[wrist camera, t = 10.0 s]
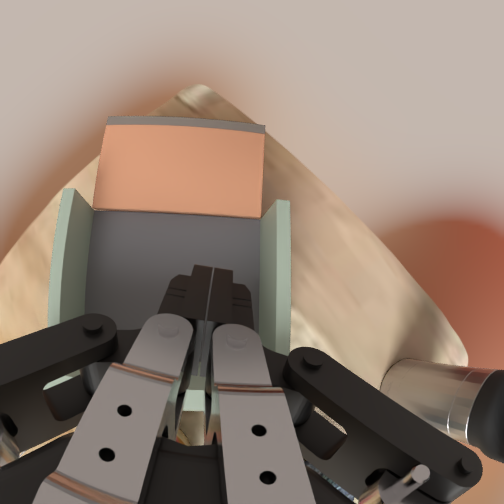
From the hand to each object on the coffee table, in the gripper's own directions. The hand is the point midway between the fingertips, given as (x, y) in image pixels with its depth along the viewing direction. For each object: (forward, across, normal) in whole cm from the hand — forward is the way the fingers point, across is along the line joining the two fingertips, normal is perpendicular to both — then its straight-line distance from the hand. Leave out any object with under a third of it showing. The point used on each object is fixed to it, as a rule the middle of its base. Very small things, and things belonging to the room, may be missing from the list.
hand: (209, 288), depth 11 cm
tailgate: (+18, +5, +2) cm, 19 cm away
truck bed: (+19, +4, +13) cm, 23 cm away
